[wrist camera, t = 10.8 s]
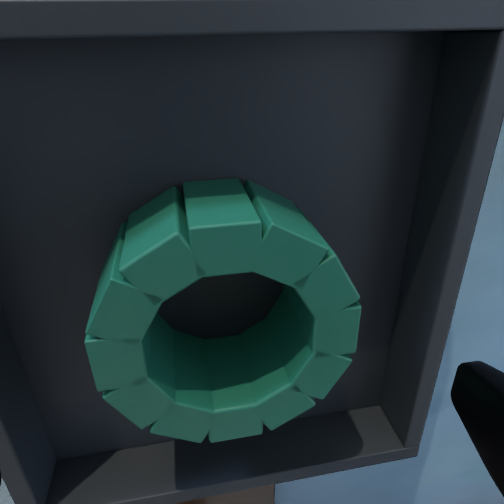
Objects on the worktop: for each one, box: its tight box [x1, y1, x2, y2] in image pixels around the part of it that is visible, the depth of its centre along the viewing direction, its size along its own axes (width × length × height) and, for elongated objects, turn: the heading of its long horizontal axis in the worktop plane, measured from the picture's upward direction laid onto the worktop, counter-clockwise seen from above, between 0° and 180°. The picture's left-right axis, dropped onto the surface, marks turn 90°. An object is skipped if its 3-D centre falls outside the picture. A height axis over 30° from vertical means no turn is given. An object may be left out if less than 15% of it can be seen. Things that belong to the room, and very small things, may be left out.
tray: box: [0, 0, 504, 504], centre depth 12 cm, size 14×13×2 cm
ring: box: [84, 178, 361, 443], centre depth 11 cm, size 6×6×3 cm
